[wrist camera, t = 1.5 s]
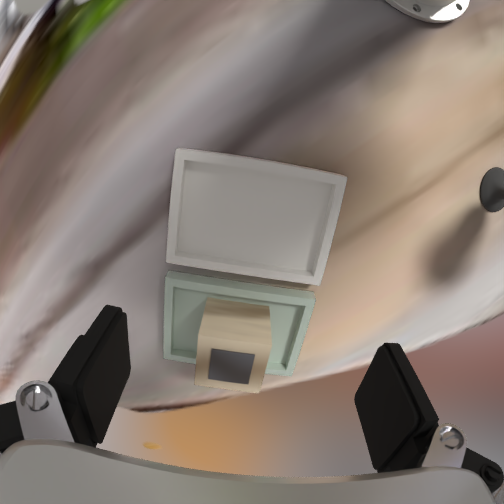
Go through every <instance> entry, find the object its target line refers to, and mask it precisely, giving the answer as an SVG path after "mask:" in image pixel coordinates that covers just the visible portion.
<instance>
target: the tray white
mask: <svg viewBox="0 0 504 504" xmlns="http://www.w3.org/2000/svg"><path fill="white" fill-rule="evenodd" d="M347 178H348V177H346V176H344V175H342V174H338V173H333V172H328V171H324V170H319V169H314V168H309V167H304V166H299V165H293V164H288V163H283V162H277V161H271V160H265V159H259V158H253V157H247V156H240V155H234V154H227V153H220V152H212V151H204V150H196V149H188V148H177V149H176V152H175V160H174V169H173V178H172V188H171V198H170V210H169V222H168V235H167V250H166V263H171V264H177V265H183V266H190V267H196V268H202V269H209V270H215V271H222V272H228V273H235V274H241V275H248V276H255V277H262V278H269V279H275V280H282V281H290V282H297V283H304V284H311V285H318V286H320V284H321V281H322V277H323V274H324V270H325V266H326V263H327V259H328V255H329V252H330V248H331V244H332V240H333V236H334V232H335V229H336V225H337V221H338V216H339V212H340V208H341V204H342V200H343V196H344V191H345V187H346V182H347Z"/></svg>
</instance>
